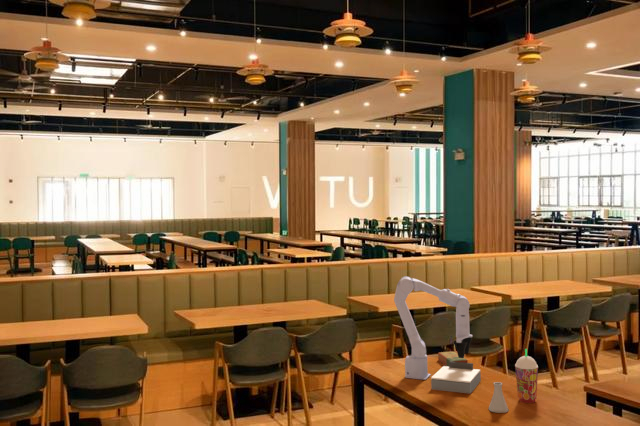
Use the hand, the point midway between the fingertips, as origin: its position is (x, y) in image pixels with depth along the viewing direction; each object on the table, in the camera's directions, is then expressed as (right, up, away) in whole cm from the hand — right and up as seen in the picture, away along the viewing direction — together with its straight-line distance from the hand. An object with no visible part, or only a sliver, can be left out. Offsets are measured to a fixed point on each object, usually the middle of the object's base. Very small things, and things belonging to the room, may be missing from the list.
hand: (463, 355), depth 277 cm
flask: (+3, -11, -42) cm, 44 cm away
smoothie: (+17, -10, -33) cm, 39 cm away
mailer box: (-5, -10, -11) cm, 16 cm away
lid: (-6, -6, -11) cm, 13 cm away
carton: (0, -9, +21) cm, 23 cm away
